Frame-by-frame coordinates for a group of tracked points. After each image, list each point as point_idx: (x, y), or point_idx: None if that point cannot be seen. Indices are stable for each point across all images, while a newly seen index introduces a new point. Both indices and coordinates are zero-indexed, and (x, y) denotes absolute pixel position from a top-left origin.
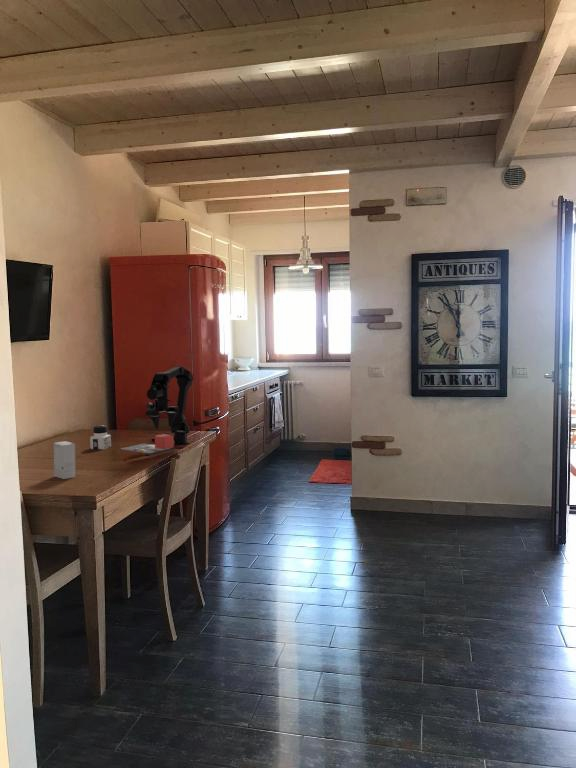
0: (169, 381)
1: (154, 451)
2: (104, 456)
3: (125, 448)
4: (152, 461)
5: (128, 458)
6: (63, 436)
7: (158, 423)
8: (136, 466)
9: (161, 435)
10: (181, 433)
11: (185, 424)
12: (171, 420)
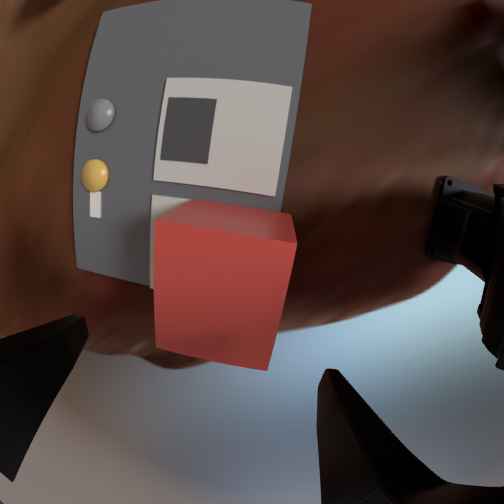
0: None
1: (116, 266)
2: (23, 68)
3: (116, 28)
4: None
5: (25, 197)
6: None
7: (49, 399)
8: (6, 311)
9: (212, 273)
10: (483, 277)
11: None
12: (323, 471)
